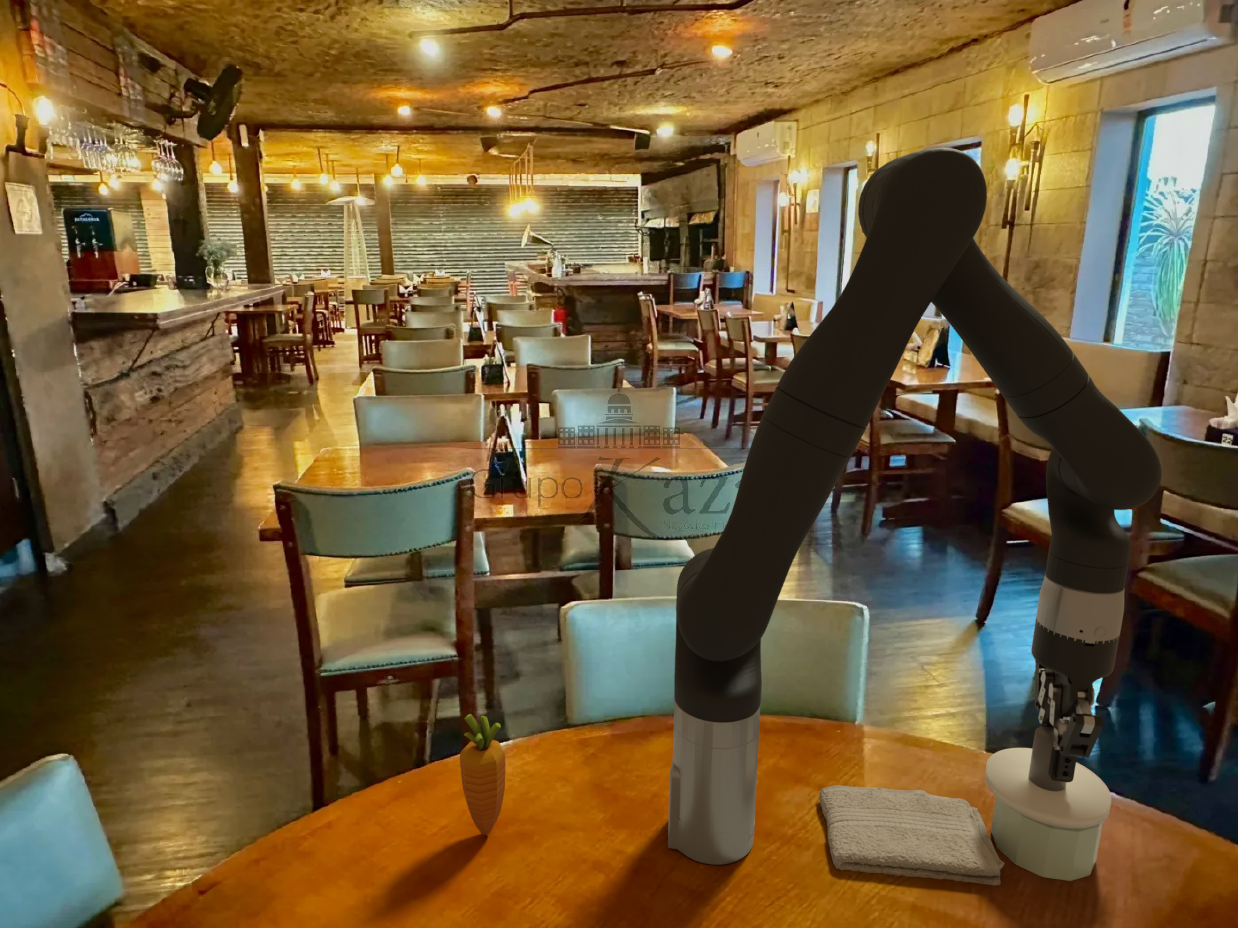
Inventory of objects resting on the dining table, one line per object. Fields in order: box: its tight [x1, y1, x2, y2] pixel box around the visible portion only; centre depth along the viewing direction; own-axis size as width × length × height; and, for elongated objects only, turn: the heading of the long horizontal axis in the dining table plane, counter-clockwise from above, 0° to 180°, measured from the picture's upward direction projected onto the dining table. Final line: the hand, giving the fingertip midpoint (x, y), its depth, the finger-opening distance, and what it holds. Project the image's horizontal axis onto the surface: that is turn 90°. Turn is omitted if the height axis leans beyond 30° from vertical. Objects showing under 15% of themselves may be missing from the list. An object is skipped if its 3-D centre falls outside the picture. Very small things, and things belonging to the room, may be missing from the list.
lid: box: [984, 726, 1112, 828], centre depth 85 cm, size 12×12×7 cm
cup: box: [990, 796, 1104, 882], centre depth 87 cm, size 10×10×6 cm
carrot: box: [459, 713, 506, 836], centre depth 88 cm, size 5×5×15 cm
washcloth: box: [818, 784, 1005, 886], centre depth 88 cm, size 12×18×3 cm, turn 83°
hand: (1054, 767), depth 85 cm, fingers closed on lid, 3 cm apart
